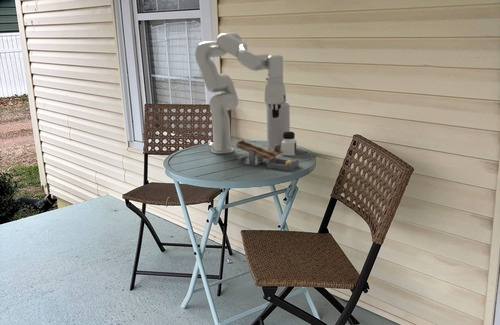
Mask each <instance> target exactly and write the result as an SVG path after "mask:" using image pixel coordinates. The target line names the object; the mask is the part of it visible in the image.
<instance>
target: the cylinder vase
mask: <svg viewBox="0 0 500 325" xmlns="http://www.w3.org/2000/svg"><path fill="white" fill-rule="evenodd" d="M290 116H291V115H290V103H288V102H285V106H283V107H281V108H280V109H279V117H277V118H273V116H272V109H271V107H270V106H268V105H266V136H267V137H266V142H267V149H268V151H269V150H271V149H274V147H275V144H279V145H281V143H282V141H283V133H284V132H287V131H291V129H290V128H291V126H290V122H291V121H290V120H291V117H290ZM280 150H281V148H280ZM281 151H282V150H281Z"/></svg>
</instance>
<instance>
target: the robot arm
mask: <svg viewBox="0 0 500 325" xmlns="http://www.w3.org/2000/svg"><path fill="white" fill-rule="evenodd" d="M194 54H195V55H194V56H195V60H196V63H197V65H198V67H199V69H200V73H201V75H202V78H203V81H204V84H205V86H206V89H207V91H208V92H209V93H212V94H213V93H214V94H215V93H219V94H215V95H213V96H211V98H210V100H209V109H210V112H211V120H212V123H211V124H212V139H213V142H209V144H208V147H210V148H211V149H210V152H211V153H213V154H221V155H223V154H230V153H233V152H234V151H235V149H234V147H232V143H231V142H232V141H231V124H230V123H231V121H230V116H229V113H228V112H227V111H231V110H234V109H236V108H237V107H238V105H239V97H238V93H237V90H236V88H235V85H234V82H233V80H232V78H231V77H230V76H229V75H228V74H226V73H219V72H218V69H217V66H216V64H215V62H214V61H213V60H212V58H216V57H218V58H219V57H223V56H225V55H228V54H230V55H231V56H233V57H235V58H236V59H237V61H238V62H239V64H241V65H242V66H243V67H246V68H247V69H249V70H251V71H256V72H257V71H264V70H267V77H265V81H267V83H266V84H265V88H264V89H265V91H264V104H265V105H266V106H267V105H268V106H270V107H271V109H272V116H273V118H277V117H279V109H280V108H281V107H283V106H285V103H287V93H286V87H285V86H286V85H285V83H284V57H283V55H280V54H268V53H262V54H253V53H251V52H249V51H248V45H247V43H246V42H244V41H242V38H241V36H240V35H239V34H238V33H237V32H224V33H220V34H218V36H217V37H216V40H207V41H206V40H205V41H202V42H200V43H198V44H197V46H196V48H195V53H194Z"/></svg>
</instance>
